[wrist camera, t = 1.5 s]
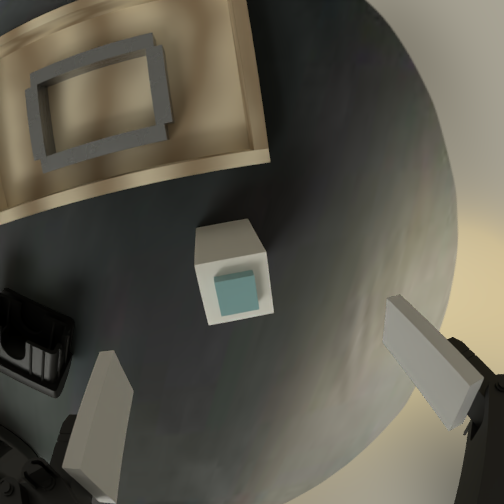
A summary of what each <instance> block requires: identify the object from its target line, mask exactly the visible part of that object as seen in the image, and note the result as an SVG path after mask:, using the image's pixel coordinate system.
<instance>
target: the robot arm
mask: <svg viewBox="0 0 504 504" xmlns="http://www.w3.org/2000/svg"><path fill="white" fill-rule="evenodd" d="M383 343H384V345H385V346H386V347H387V349H388V350H389V351H390V352H391V354H392V355H393V356H394V358H395V359H396V360H397V362H398V363H399V364H400V366H401V367H402V368H403V369H404V371H405V372H406V373H407V375H408V376H409V377H410V379H411V380H412V381H413V383H414V384H415V385H416V387H417V388H418V389H419V391H420V392H421V393H422V395H423V396H424V398H425V399H426V400H427V402H428V403H429V404H430V406H431V407H432V408H433V410H434V411H435V413H436V414H437V415H438V417H439V418H440V419H441V421H442V422H443V424H444V425H445V426H446V428H447V429H448V431H450V430H452V429H453V428H455V427H457V426H459V425H461V424H463V422H464V420H465V418H466V416H467V415H468V416H469V417H470V419H471V420H470V422H469V424H468V426H467V428H466V430H465V431H464V434H463V435H466V433H467V432H468V436H467V443H466V450H465V456H464V461H463V467H462V472H461V477H460V482H459V486H458V490H457V494H456V499H455V503H454V504H504V374H498V375H495V374H494V373H493V372H492V371H491V370H490V369H489V368H488V367H487V366H486V365H485V364H484V363H483V362H482V361H481V360H480V359H479V358H478V357H477V356H475V354H474V353H473V352H472V351H471V350H469V348H468V347H467V346H466V345H465V344H464V343H463V342H462V341H460V340H458V339H456V338H454V337H452V338H449V339H446V338H445V337H444V336H443V335H442V334H441V333H440V332H439V331H438V330H437V329H436V328H435V327H434V326H433V325H432V324H431V323H430V322H429V321H428V320H426V319H425V318H424V317H423V316H422V315H421V314H420V313H419V312H418V311H417V310H416V309H415V308H414V307H413V306H412V305H411V304H410V303H409V302H408V301H406V300H405V299H404V298H403V297H402V296H401V295H400V294H399V295H396V296H392V297H389V298H387V303H386V314H385V324H384V333H383ZM133 392H134V391H133V389H132V387H131V385H130V383H129V381H128V379H127V377H126V375H125V373H124V371H123V369H122V367H121V365H120V363H119V360H118V358H117V356H116V354H115V352H114V350H112V351H102V352H99V355H98V358H97V360H96V363H95V366H94V368H93V371H92V374H91V376H90V379H89V382H88V385H87V388H86V390H85V393H84V396H83V399H82V402H81V405H80V408H79V411H78V414H77V415H69V416H68V417H67V418H66V420H65V421H64V422H63V424H62V427H61V430H60V435H59V436H58V439H57V442H56V445H55V448H54V451H53V455H52V458H51V461H50V465H49V464H48V463H47V462H46V461H45V460H44V459H42V458H38V457H37V455H36V454H35V453H34V452H33V450H32V449H31V448H30V447H29V446H28V445H27V444H25V443H24V442H23V441H22V440H21V439H20V438H18V437H17V436H16V435H14V434H13V433H11V432H10V431H9V430H7V429H5V428H4V427H2V426H1V425H0V504H92V503H91V502H92V496H93V497H94V498H95V499H97V500H98V501H99V502H105V503H117V494H118V485H119V477H120V470H121V463H122V456H123V449H124V443H125V437H126V430H127V425H128V419H129V413H130V408H131V403H132V397H133Z"/></svg>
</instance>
